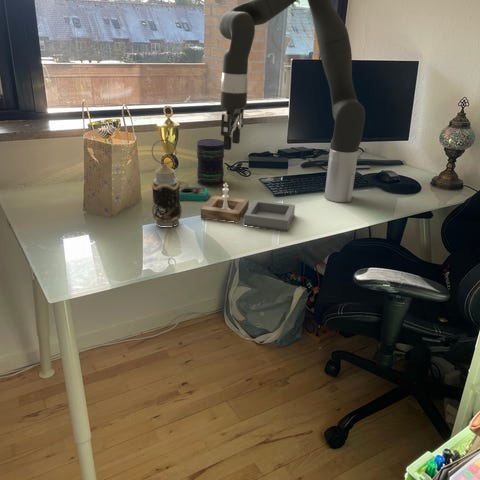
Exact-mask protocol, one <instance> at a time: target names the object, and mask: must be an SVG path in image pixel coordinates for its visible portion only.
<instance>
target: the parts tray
mask: <svg viewBox="0 0 480 480" xmlns="http://www.w3.org/2000/svg"><path fill="white" fill-rule="evenodd" d="M295 210H296V204H291V203H282V202H274V201H266V200H258V199H253V202H252V203H251V204H250V206H249V208H248V210H247V212H246V213H245V214H244V216H243V226H244V225H247V226H246V227H248V226H253V227H252V228H255V227H259V228H258V229H263V228H265V229H264V230H270V229H271V230H272V231H278V232H279V231H280V232H285V233H286V232H287V233H288V230H289V228H290V225H291V224H292V221H293V219H294V216H295Z"/></svg>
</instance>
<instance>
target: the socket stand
mask: <svg viewBox="0 0 480 480" xmlns="http://www.w3.org/2000/svg"><path fill="white" fill-rule="evenodd" d="M223 202H224V198H223V197H222V196H219V195H212V197H211V198H209V199H208V201H207V202H206V203H205V204H204V205H203V206H201V208H200V218H201V219H205V218H209V219H208V220H213V219H217V220H216V221H220V220H225V221H224V222H227V221H234V222H233V223H235V222H239V221H240V222H241V220H242V219H243V218H244V214H245V213H246V212H247V210H248V209H249V207H250V206H249V205H250V204H249V203H250V200H249V199H243V198H234V197H229V198H227V203H228V208H229V209H223ZM241 218H242V219H241ZM240 222H239V223H240Z"/></svg>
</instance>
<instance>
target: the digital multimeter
mask: <svg viewBox="0 0 480 480" xmlns="http://www.w3.org/2000/svg"><path fill="white" fill-rule="evenodd" d="M184 187H185V188H184V189H182V190H181V191H179V198H180V201H202V202H205V201H207V200H208V198H209V189H208V188H207V187H200V186H199V187H193V186H192V187H189V186H188V187H186V186H184Z"/></svg>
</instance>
